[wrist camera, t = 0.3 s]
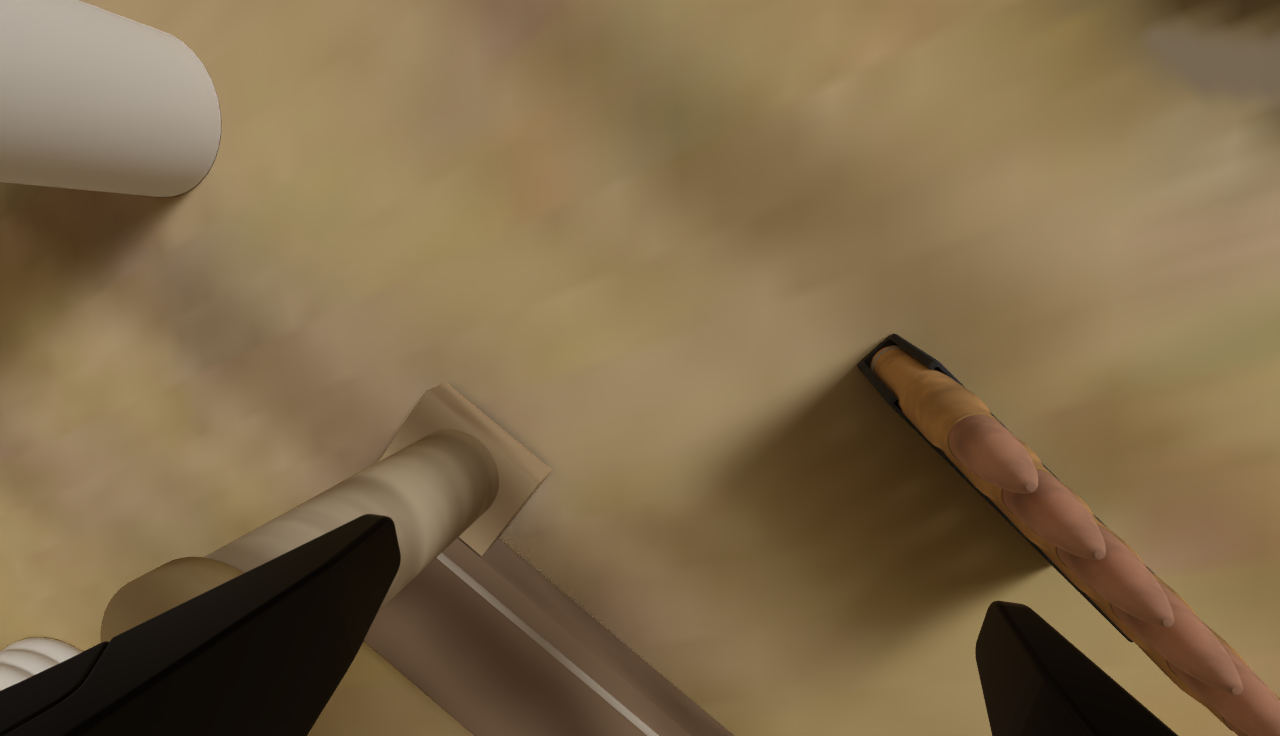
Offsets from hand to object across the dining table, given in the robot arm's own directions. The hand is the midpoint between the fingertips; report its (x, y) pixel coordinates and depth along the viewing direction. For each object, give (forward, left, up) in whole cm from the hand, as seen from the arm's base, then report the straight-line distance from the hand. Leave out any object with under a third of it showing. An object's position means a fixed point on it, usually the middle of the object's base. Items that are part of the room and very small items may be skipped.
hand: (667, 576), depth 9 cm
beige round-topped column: (-10, +6, -15) cm, 19 cm away
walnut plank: (-16, -1, -15) cm, 22 cm away
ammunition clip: (+4, -9, -15) cm, 18 cm away
